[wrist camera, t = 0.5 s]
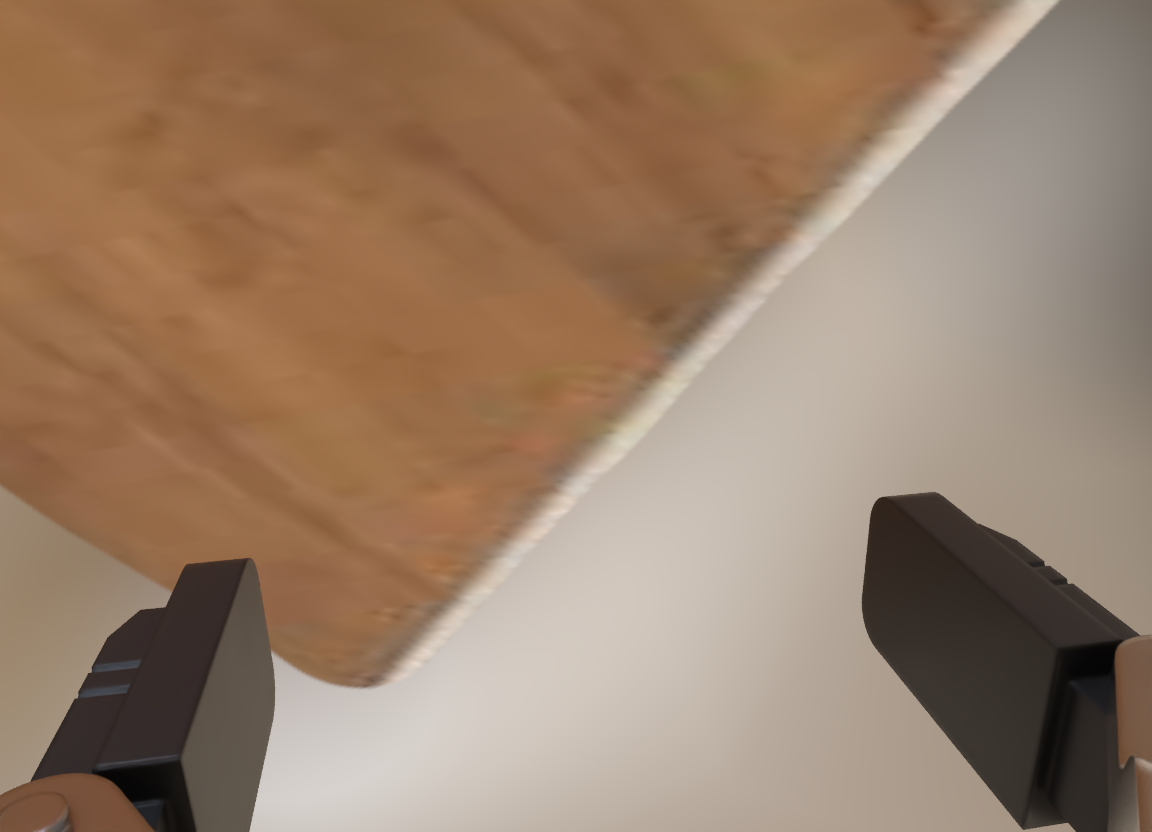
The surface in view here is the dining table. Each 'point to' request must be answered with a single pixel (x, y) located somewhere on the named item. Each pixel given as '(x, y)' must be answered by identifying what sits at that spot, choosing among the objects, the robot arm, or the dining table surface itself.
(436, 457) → the dining table surface
